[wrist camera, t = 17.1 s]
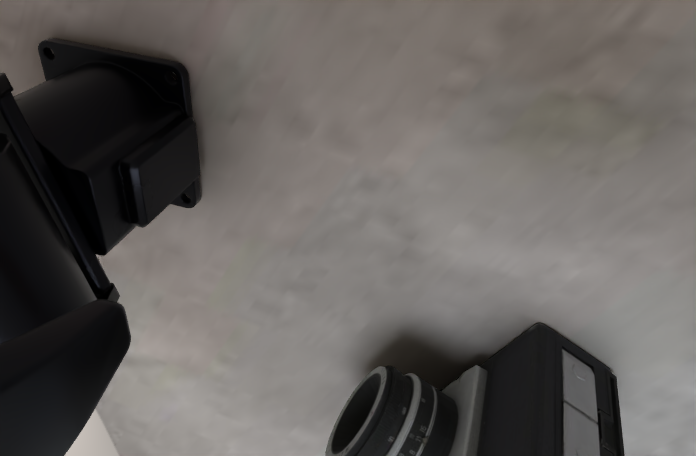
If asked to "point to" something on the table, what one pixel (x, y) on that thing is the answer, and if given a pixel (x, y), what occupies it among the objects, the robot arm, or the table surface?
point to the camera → (489, 407)
